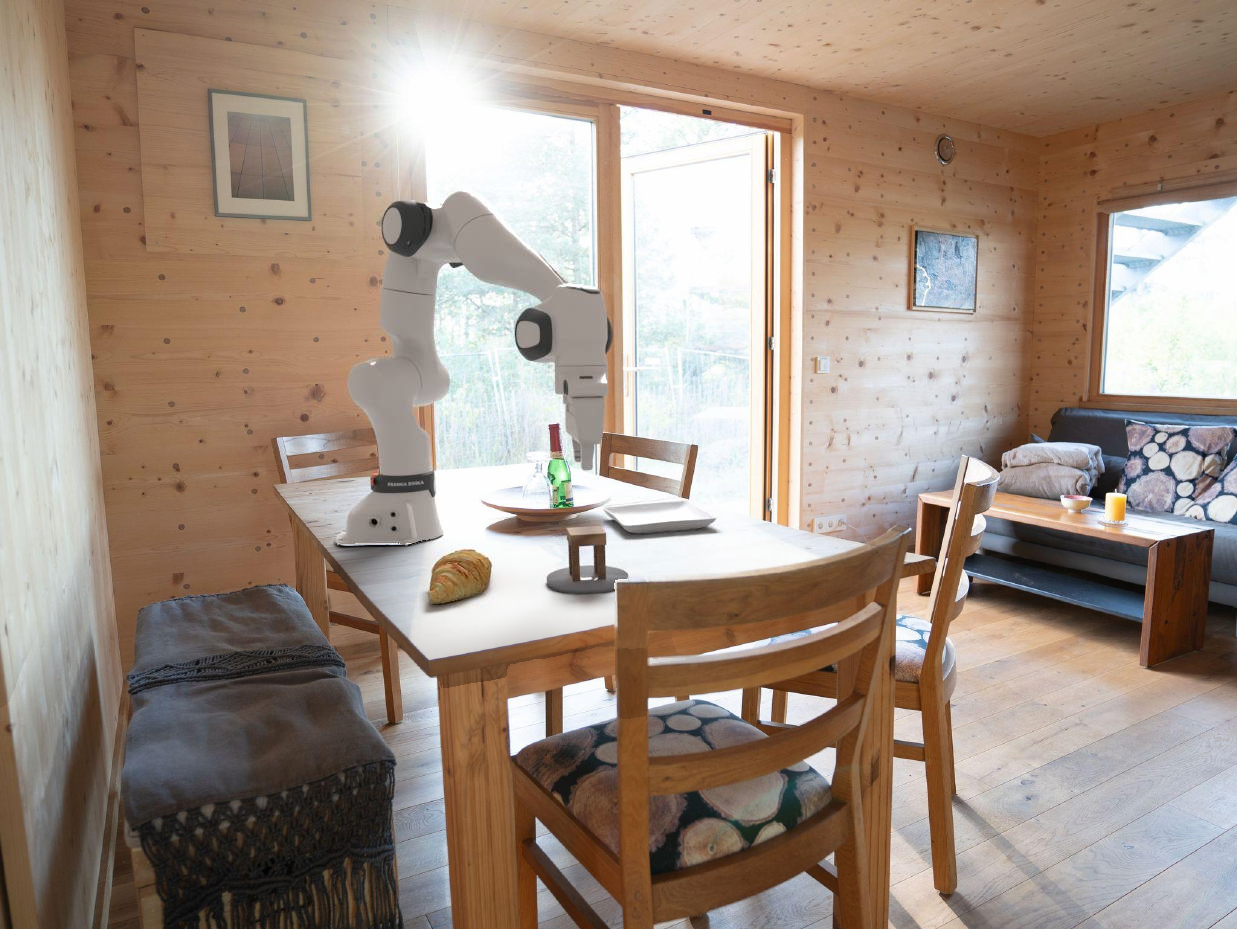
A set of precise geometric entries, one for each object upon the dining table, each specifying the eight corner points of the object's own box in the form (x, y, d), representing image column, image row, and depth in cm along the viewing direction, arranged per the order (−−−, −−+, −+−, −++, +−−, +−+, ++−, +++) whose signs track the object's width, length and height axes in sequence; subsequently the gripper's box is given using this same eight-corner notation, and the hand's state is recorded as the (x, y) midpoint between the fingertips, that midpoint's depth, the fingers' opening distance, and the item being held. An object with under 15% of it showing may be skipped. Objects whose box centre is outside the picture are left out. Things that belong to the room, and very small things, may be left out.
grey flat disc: (550, 596, 131) (550, 590, 131) (543, 573, 144) (543, 568, 144) (635, 590, 133) (635, 584, 133) (620, 568, 147) (620, 563, 147)
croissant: (451, 631, 126) (471, 588, 124) (397, 599, 127) (416, 557, 125) (499, 589, 146) (517, 552, 145) (452, 562, 148) (469, 525, 146)
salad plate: (624, 539, 171) (624, 523, 170) (602, 520, 191) (601, 505, 191) (718, 532, 176) (718, 516, 175) (687, 513, 196) (686, 499, 196)
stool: (572, 582, 135) (570, 535, 134) (567, 572, 141) (566, 527, 140) (607, 579, 136) (606, 533, 135) (601, 570, 142) (600, 525, 141)
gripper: (556, 380, 143) (558, 457, 145) (569, 386, 124) (571, 475, 126) (591, 380, 145) (592, 456, 147) (610, 385, 125) (611, 474, 127)
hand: (582, 465), depth 136 cm, fingers open, 8 cm apart
